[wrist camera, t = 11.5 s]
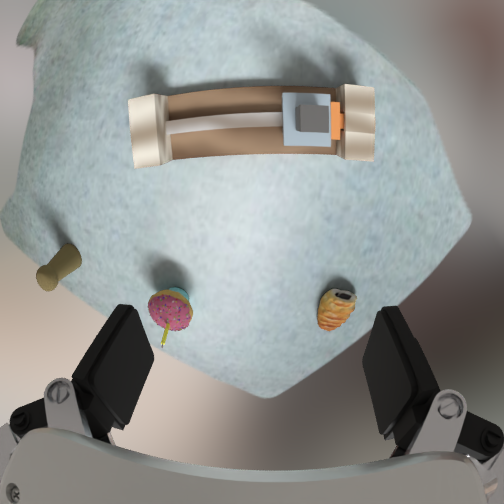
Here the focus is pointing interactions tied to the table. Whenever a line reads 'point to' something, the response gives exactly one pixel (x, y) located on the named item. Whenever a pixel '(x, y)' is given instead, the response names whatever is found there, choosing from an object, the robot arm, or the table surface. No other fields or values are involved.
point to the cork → (59, 267)
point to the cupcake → (170, 310)
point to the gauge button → (336, 120)
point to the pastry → (335, 308)
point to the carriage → (306, 119)
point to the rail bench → (237, 135)
